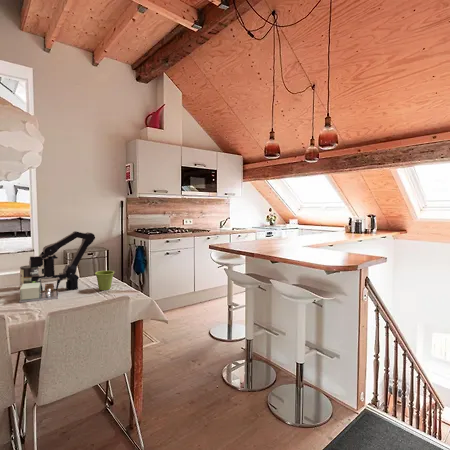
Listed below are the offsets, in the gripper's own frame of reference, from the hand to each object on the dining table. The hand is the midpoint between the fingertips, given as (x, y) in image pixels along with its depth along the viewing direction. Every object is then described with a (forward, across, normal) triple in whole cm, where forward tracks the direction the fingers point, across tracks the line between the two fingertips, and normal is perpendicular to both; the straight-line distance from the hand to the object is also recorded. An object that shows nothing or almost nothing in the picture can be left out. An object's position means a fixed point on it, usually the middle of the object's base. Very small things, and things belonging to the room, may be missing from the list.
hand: (49, 290), depth 192 cm
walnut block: (+1, 0, 0) cm, 1 cm away
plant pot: (+1, -32, +7) cm, 33 cm away
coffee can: (+1, +12, -17) cm, 21 cm away
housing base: (+1, +4, +10) cm, 11 cm away
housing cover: (0, +9, +10) cm, 13 cm away
